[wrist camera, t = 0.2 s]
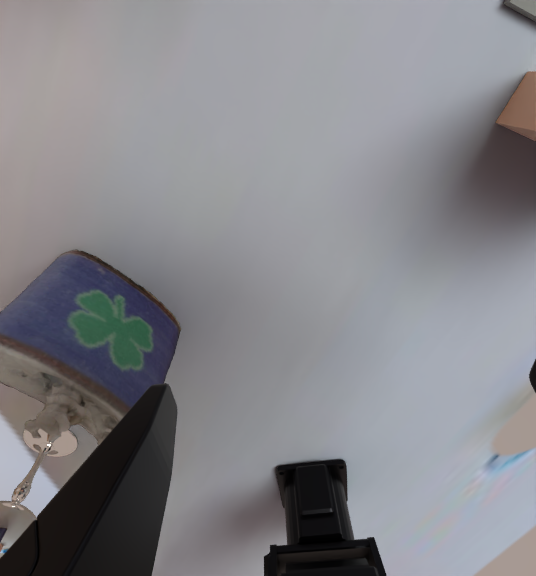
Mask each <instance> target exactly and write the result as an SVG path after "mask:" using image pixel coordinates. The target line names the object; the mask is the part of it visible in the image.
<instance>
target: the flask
mask: <svg viewBox="0 0 536 576" xmlns="http://www.w3.org/2000/svg"><path fill="white" fill-rule="evenodd" d="M180 331H181V328H180V324H179V322H178V321H177V320H176V318H175V317H174V315H173V314H172V313H171V312H170V311H169V310H168V309H166V307H165V306H164V305H163V304H162V303H161V302H159V301H158V300H157V299H156V297H154V296H153V295H152V294H151V293H149V292H148V291H146V290H145V289H144V288H143V287H141V286H139V285H137V284H135V282H133V281H132V280H131V279H130V278H128V277H127V276H125V275H124V274H122V273H120V272H119V271H118V270H115V269H114V268H113V267H111V265H108V264H107V263H105V262H103V261H102V260H101V259H99V258H97V257H96V256H93V255H90V254H88V253H86V252H83V251H78V250H73V251H69V252H66V253H63V254H61V255H60V256H59V257H58V258H57V259H56V260H55V261H54V262H53V263H52V264H51V265H50V266H49V267H48V268H47V269H46V270H45V271H44V272H43V273H42V274H41V275H40V276H38V277H37V278H36V279H35V280H34V281H33V282H32V283H31V284H30V285H29V286H28V287H27V288H26V289H25V290H24V291H23V292H22V293H21V294H20V295H19V296H18V297H17V298H16V299H15V300H14V301H12V302H11V303H10V304H9V305H8V306H7V307H6V308H5V309H4V310H2V311H1V312H0V382H1V383H3V384H4V385H6V386H9V387H12V388H15V389H17V390H18V391H20V392H22V393H24V394H27V395H28V396H30V397H33V398H35V399H37V400H39V401H41V402H42V403H44V404H45V406H44V409H43V411H42V412H40V413H38V415H37V419H35V420H29V421H27V422H26V423H25V429H26V430H27V431H29V432H30V433H31V434H32V437H33V438H38V439H39V438H41V435H40V434H39V433H38V430H39V429H42V430H43V431H45V432H46V433H47V434H49V435H51V436H56V435H58V436H59V437H61V432H65V431H67V430H69V428H70V426H71V425H76V424H78V425H81V426H82V427H84V428H85V429H86V430H87V431H88V432H89V433H90V434H92V435H93V436H94V437H95V438H96V439H97V441H98V445H100V443H101V442H102V441H103V440H104V439H105V438H106V436H107V435H108V434H109V433H110V432H111V431H112V430H113V428H114V427H115V426H116V425H117V424H118V423H119V421H120V420H121V419H122V418H123V417H124V416H125V415H126V413H127V412H128V411H129V410H130V409H131V408H132V406H133V405H134V404H135V403H136V402H137V401H138V400H139V398H140V397H141V396H142V395H143V394H144V393H145V391H146V390H147V389H148V388H149V387H150V386H151V385H154V384H164V381H165V378H166V375H167V372H168V369H169V367H170V364H171V361H172V359H173V356H174V354H175V349H176V346H177V341H178V338H179V333H180Z"/></svg>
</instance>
